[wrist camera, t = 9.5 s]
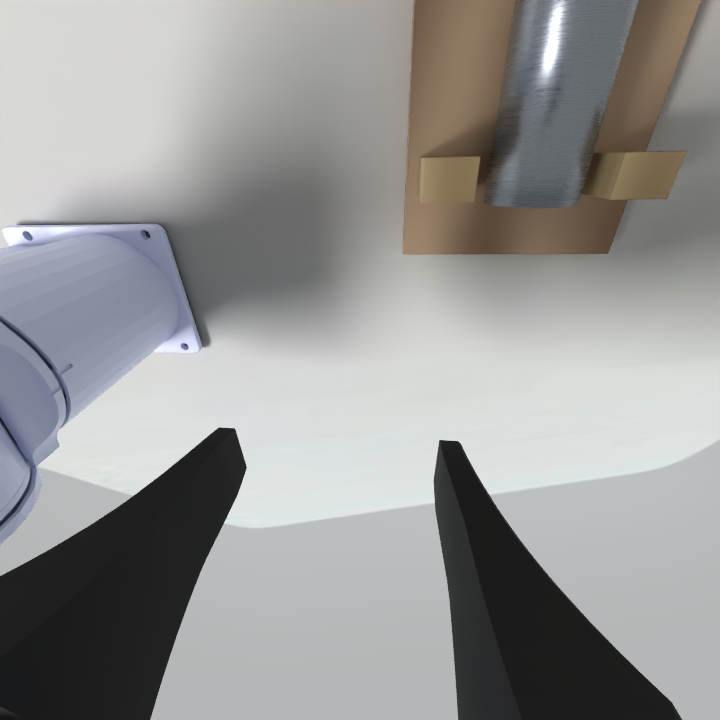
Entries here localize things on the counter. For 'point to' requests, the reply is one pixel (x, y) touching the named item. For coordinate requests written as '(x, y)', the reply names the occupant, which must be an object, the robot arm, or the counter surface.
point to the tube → (554, 98)
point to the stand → (477, 123)
